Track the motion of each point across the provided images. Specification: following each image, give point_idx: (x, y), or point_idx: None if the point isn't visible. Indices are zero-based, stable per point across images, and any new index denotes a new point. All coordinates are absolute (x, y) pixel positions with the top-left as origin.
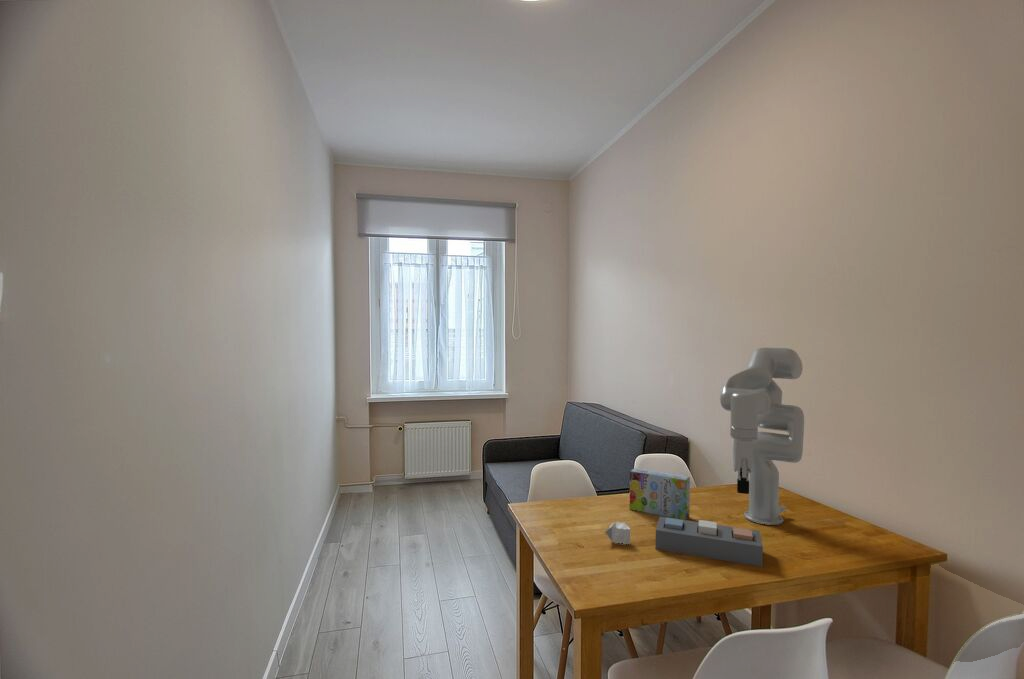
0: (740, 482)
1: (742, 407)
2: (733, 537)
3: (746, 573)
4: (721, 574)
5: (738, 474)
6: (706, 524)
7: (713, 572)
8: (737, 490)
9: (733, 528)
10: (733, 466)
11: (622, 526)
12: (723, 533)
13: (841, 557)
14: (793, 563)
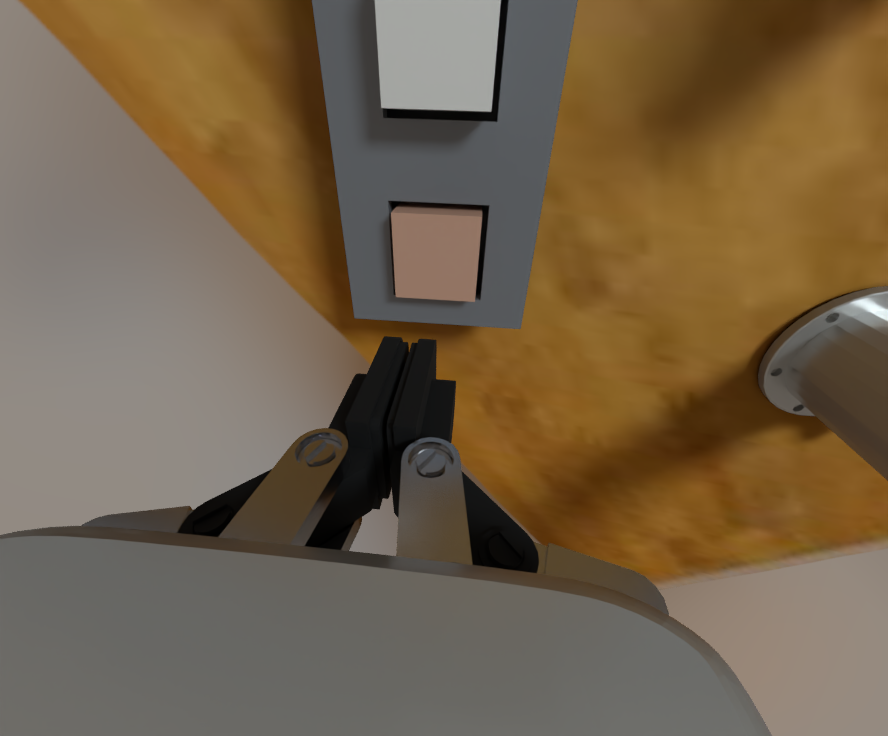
0: (343, 426)
1: None
2: (419, 207)
3: (297, 228)
4: (230, 127)
5: (400, 485)
6: (425, 24)
7: (225, 90)
8: (380, 344)
9: (465, 217)
10: (160, 607)
11: None
12: (428, 155)
13: (521, 471)
14: (442, 371)
